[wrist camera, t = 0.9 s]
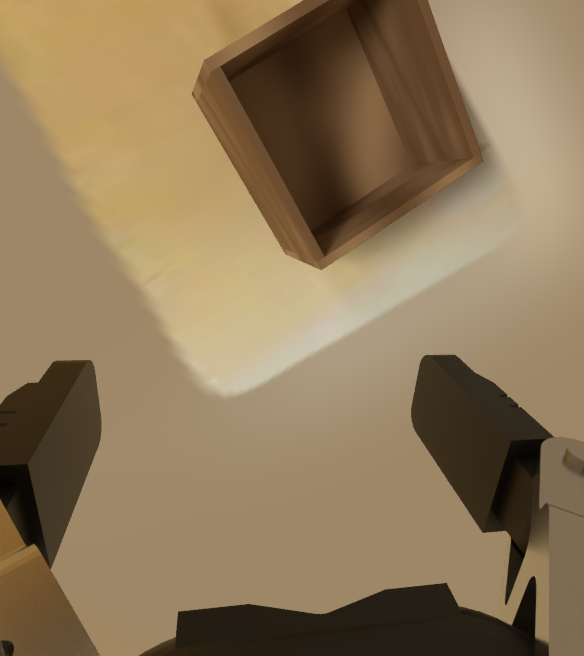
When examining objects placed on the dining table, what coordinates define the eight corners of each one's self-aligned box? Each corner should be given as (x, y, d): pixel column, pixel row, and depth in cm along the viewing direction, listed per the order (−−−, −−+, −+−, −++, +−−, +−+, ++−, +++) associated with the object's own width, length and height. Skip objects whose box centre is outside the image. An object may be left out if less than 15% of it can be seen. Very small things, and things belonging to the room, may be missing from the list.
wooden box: (285, 254, 30) (321, 270, 24) (191, 94, 26) (204, 60, 19) (416, 167, 31) (485, 160, 25) (346, -1, 27) (407, -63, 20)
